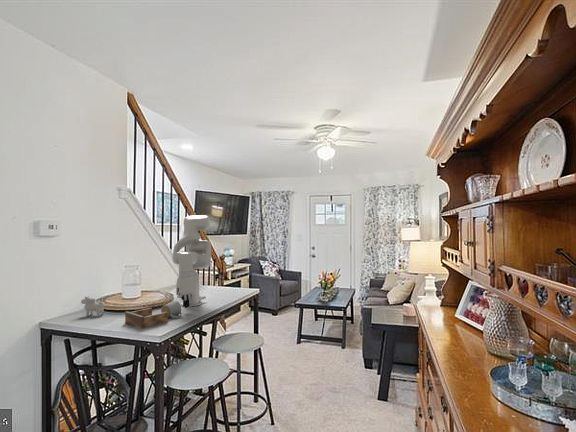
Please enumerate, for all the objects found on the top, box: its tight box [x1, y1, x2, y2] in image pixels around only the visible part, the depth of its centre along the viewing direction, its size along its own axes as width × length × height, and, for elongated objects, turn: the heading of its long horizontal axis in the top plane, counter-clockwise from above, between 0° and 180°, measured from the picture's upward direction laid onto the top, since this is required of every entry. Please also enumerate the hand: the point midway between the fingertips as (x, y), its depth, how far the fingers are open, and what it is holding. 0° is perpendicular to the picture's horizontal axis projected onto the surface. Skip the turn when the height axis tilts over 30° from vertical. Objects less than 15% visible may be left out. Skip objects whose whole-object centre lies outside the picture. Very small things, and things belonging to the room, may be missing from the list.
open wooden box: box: [124, 307, 168, 329], centre depth 172 cm, size 14×16×6 cm
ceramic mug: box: [160, 300, 183, 319], centre depth 182 cm, size 11×8×8 cm
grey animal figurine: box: [80, 295, 105, 318], centre depth 189 cm, size 5×13×11 cm, turn 83°
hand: (186, 307), depth 190 cm, fingers closed
